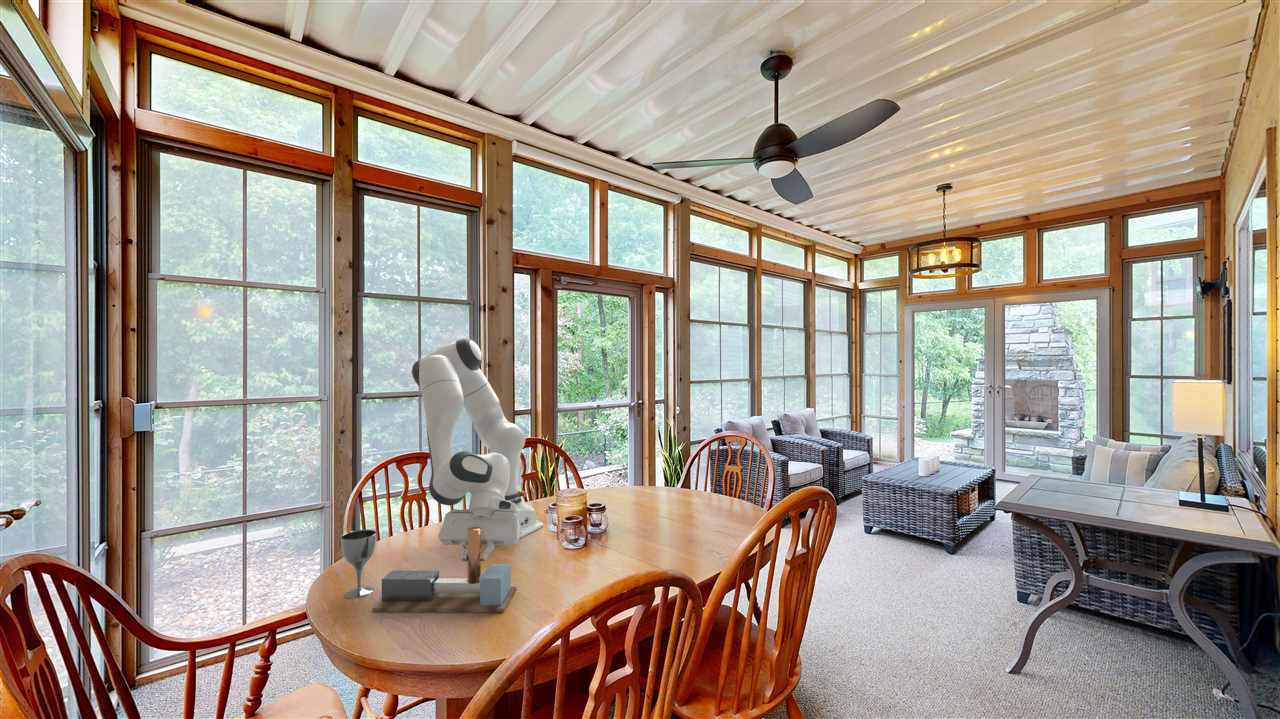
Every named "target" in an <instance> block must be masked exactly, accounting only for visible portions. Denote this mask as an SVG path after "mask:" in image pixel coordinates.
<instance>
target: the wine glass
mask: <svg viewBox="0 0 1280 719" xmlns="http://www.w3.org/2000/svg"><path fill="white" fill-rule="evenodd" d="M340 541H341V542H340V543H341V551H342V554H343V558H344V559H345V561H346V562H347V563H348V564H349V565H351V566H352V567H353V568H354V570H355V573H356V580H357V581H356V582H357V585H356V587H353V588H350V589H348V590H345V592H344V593H343V595H342V596H343V597H344V598H345V599H359V598H364V597H366V596H369V595H371V594H373V593H374V591H375V587H374V586H373V587H372V586H369V585H367V586H366V585H364V586H362V582H361V580H362V571H363V569H364V567H365V565H366V564H367V563H368V561H370V559H371V558H372V556H373V555H374V554H375V549H376V543H377V532H376V529H366V528H365V529H364V528H363V529H358V530H357V529H355V530H351V531H348V532H345V533H344V534H342V535H341V540H340Z"/></svg>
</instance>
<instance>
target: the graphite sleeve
mask: <svg viewBox="0 0 1280 719" xmlns="http://www.w3.org/2000/svg"><path fill="white" fill-rule="evenodd" d="M435 578H440V570H406V569H405V570H402V569H399V570H396V569H395V570H391V571H390V572H389V573H387V574H386V575H385V576H384V577H383V578H381V600H382V601H413V602H430V601H431V600H432V599H433V598H434V597H435V596H436V595H437V594H438V593H432V581H433V580H434V579H435Z"/></svg>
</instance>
